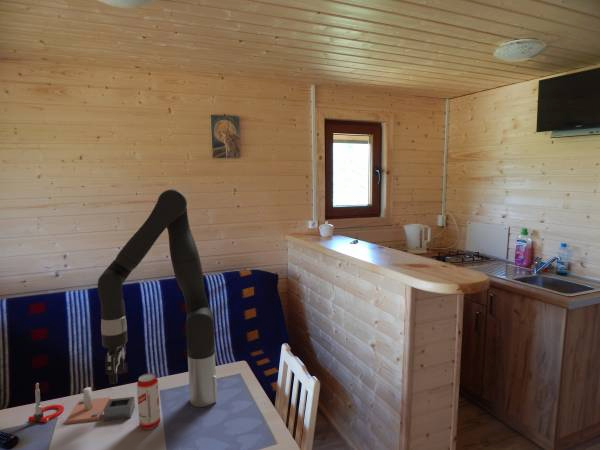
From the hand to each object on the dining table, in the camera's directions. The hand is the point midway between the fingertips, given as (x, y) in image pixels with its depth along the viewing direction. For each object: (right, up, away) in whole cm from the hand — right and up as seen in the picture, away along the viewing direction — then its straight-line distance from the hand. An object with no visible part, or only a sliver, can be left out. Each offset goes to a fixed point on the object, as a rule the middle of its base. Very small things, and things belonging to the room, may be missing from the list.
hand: (117, 377), depth 128 cm
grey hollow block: (0, -13, +1) cm, 13 cm away
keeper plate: (-11, -13, +3) cm, 18 cm away
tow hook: (-24, -14, +2) cm, 28 cm away
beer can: (+13, -14, -4) cm, 19 cm away
